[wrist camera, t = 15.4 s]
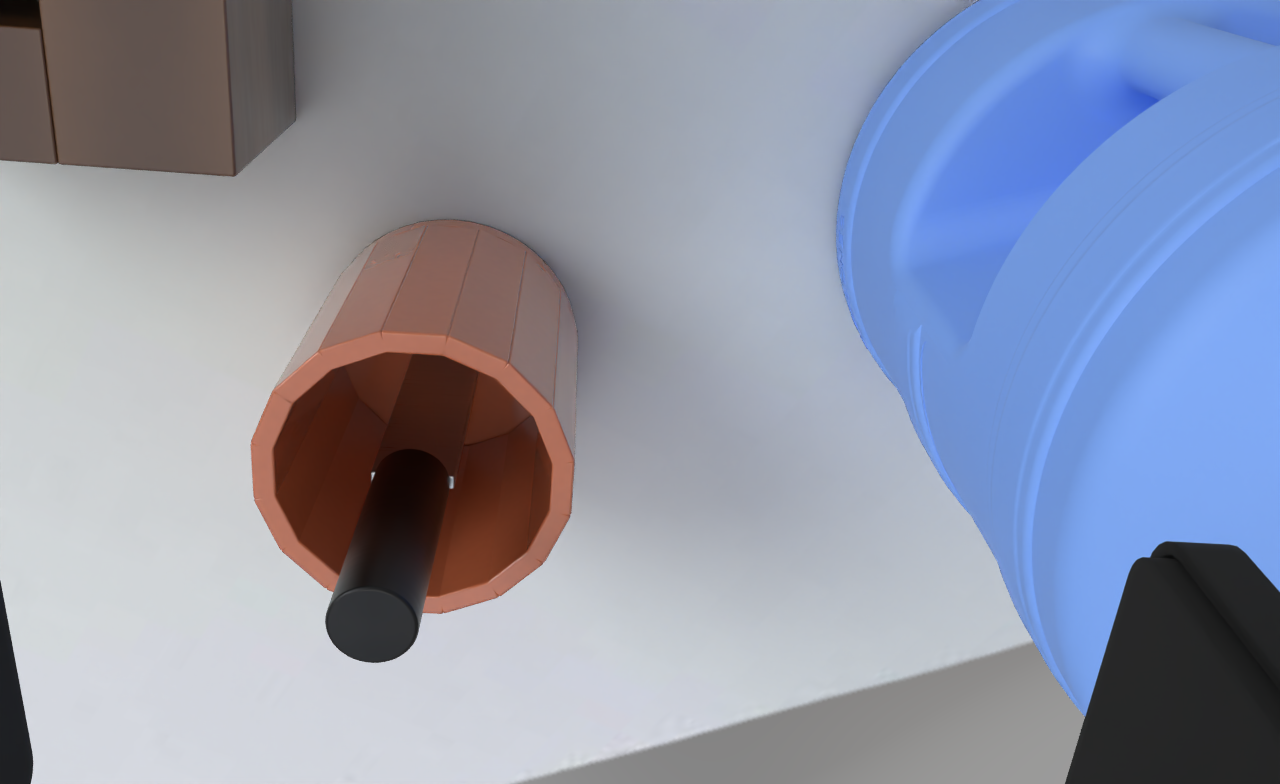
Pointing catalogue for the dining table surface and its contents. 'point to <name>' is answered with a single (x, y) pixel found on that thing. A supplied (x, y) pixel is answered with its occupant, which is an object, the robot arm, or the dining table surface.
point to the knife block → (145, 82)
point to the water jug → (1082, 288)
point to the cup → (369, 386)
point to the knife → (403, 513)
